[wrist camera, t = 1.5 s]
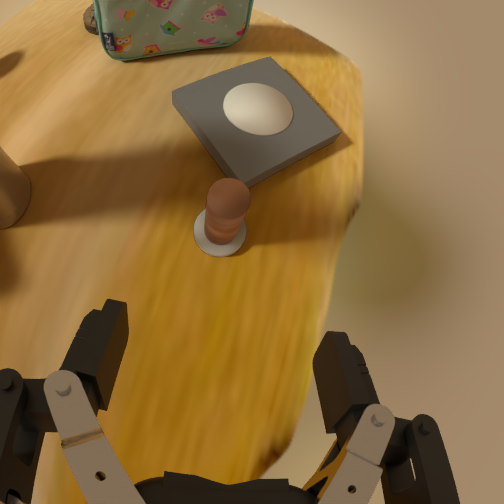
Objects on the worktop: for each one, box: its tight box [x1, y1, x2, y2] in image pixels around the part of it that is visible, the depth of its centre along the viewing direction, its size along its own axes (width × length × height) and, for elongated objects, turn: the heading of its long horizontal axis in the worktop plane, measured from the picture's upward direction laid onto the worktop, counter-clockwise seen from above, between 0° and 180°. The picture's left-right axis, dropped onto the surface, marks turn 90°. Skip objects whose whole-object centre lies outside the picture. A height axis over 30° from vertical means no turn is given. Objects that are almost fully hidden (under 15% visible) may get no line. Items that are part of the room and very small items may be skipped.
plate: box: [172, 57, 341, 188], centre depth 41 cm, size 18×18×3 cm
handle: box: [194, 178, 251, 257], centre depth 33 cm, size 6×6×11 cm
